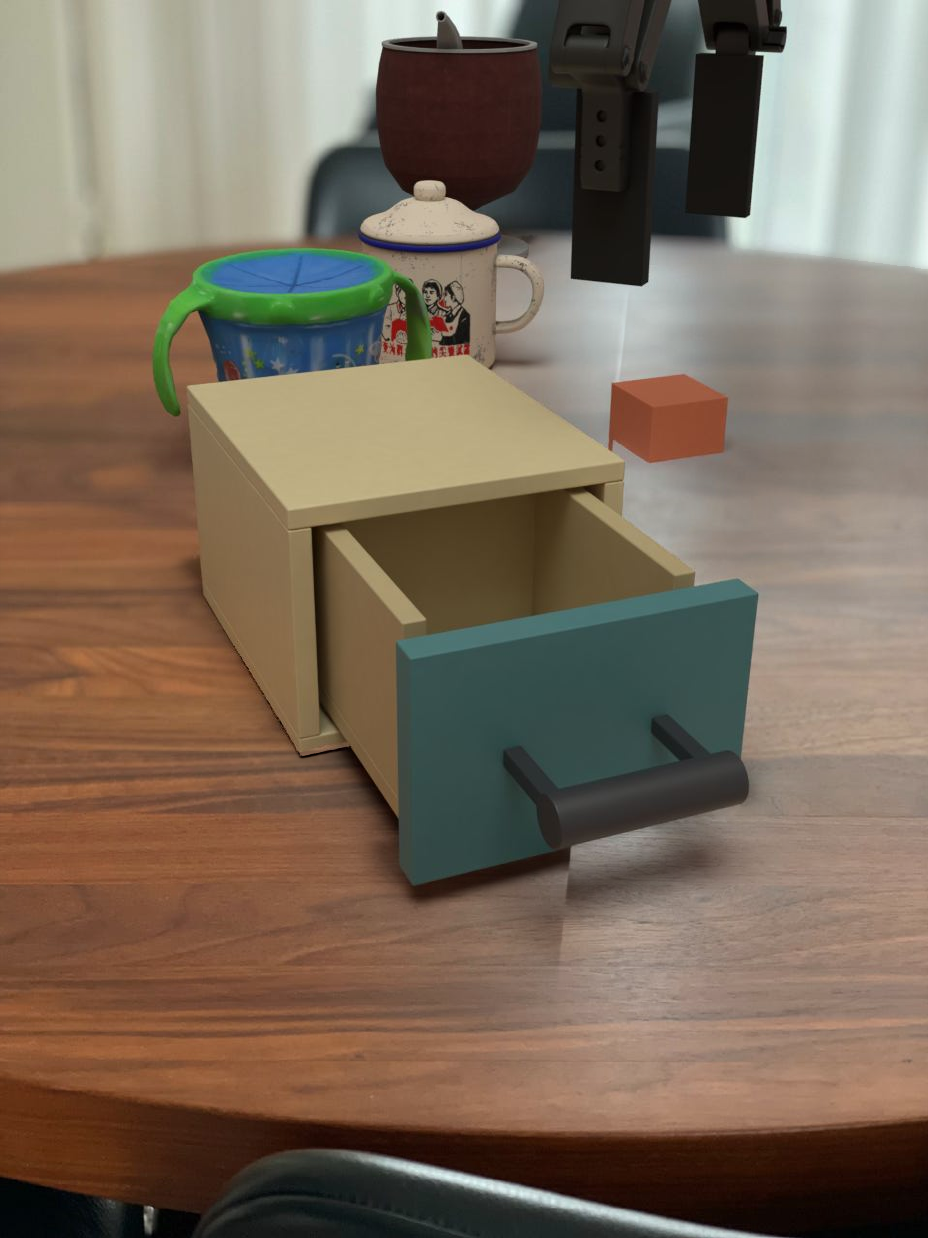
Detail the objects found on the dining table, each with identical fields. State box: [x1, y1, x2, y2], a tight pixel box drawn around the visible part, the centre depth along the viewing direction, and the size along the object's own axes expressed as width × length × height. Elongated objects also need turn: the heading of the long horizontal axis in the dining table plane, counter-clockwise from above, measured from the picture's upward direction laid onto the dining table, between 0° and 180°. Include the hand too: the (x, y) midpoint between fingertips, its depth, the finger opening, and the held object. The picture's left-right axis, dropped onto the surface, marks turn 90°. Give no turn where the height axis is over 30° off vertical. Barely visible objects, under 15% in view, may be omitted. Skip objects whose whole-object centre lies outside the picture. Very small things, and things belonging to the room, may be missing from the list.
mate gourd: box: [375, 10, 543, 259], centre depth 121 cm, size 16×14×20 cm
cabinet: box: [186, 355, 626, 752], centre depth 58 cm, size 15×13×10 cm
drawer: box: [310, 487, 759, 887], centre depth 48 cm, size 18×11×8 cm, turn 23°
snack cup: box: [152, 247, 432, 418], centre depth 78 cm, size 16×10×10 cm
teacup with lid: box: [357, 181, 545, 369], centre depth 93 cm, size 12×9×12 cm
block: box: [607, 373, 729, 464], centre depth 77 cm, size 4×4×4 cm
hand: (668, 245), depth 58 cm, fingers open, 13 cm apart
